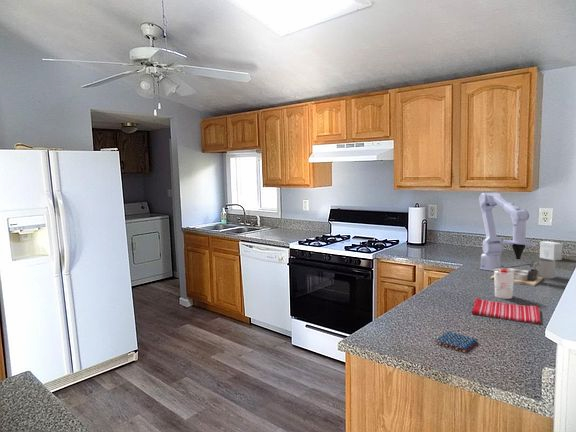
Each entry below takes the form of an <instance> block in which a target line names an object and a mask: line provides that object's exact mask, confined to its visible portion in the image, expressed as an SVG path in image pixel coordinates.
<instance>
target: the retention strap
mask: <svg viewBox="0 0 576 432" xmlns="http://www.w3.org/2000/svg"><path fill="white" fill-rule="evenodd" d="M533 264H534V263H533V262H524V263H519V264H512V265H507V266H506V265H504V267H501V266H500V268H505V269H507V268H512V269H514V268H519V267H525V266H526V267H527V266H529V268H533Z"/></svg>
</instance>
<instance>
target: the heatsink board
mask: <svg viewBox="0 0 576 432" xmlns="http://www.w3.org/2000/svg"><path fill="white" fill-rule="evenodd" d="M500 267H505V265H500ZM500 267H498V268H500ZM507 269H511V270H514V271H515V272H514V284H519V285H525V286H530V287H535V286H536V285H537V284H538V283H540V282H541V281H543V279H544V278H543V277H539V275H538V274H537V271H538V269H537V268H536V269H533V268H531V269H530V270H525V269H518V268H507ZM489 279H490V280H493V281H494V274H493V275H491V276H490V278H489Z"/></svg>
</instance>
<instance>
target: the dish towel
mask: <svg viewBox="0 0 576 432" xmlns="http://www.w3.org/2000/svg"><path fill="white" fill-rule="evenodd" d="M471 314H472V315H475V316H483V317H488V318H494V319H495V318H496V319H500V320H507V321H514V322H522V323H527V324H528V323H529V324H535V323H537V324H536V325H541V324H542V322H541V310H540V309H539V305H538V306H537V305H521V304H513V303H505V302H500V301H499V302H498V301H491V300H486V299H481V298H475V300H474V305H473V307H472V309H471ZM540 323H541V324H540Z"/></svg>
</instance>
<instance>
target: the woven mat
mask: <svg viewBox="0 0 576 432" xmlns="http://www.w3.org/2000/svg"><path fill="white" fill-rule="evenodd" d="M478 340H479V339H478V338H474V337H470V336H466V335H463V334H461V333H456V332H453V331H446V333H444V334H443V335H440V336H439V337H438V338H436V339H435V340H434V342H435V345H439V346H442V347H444V346H445V348H449V349H452V350H455V351H459V352H461V351H462V352H463V353H466V352H468V351H469V350H470V349H472V348H473V347H474V346H475V345H477V344H478V343H479V342H478Z"/></svg>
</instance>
